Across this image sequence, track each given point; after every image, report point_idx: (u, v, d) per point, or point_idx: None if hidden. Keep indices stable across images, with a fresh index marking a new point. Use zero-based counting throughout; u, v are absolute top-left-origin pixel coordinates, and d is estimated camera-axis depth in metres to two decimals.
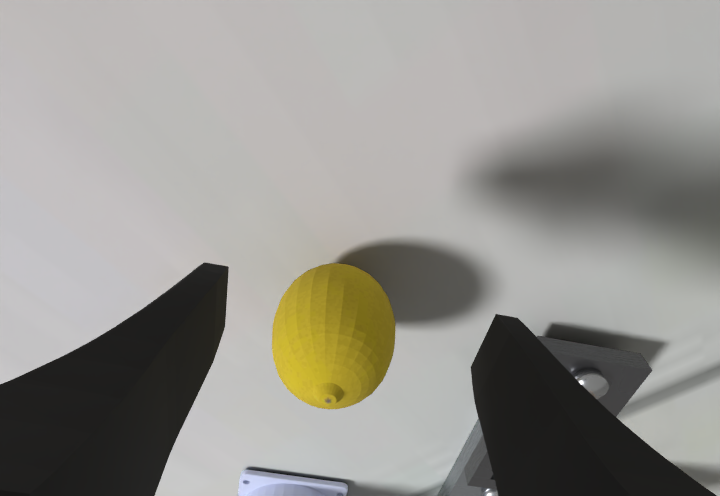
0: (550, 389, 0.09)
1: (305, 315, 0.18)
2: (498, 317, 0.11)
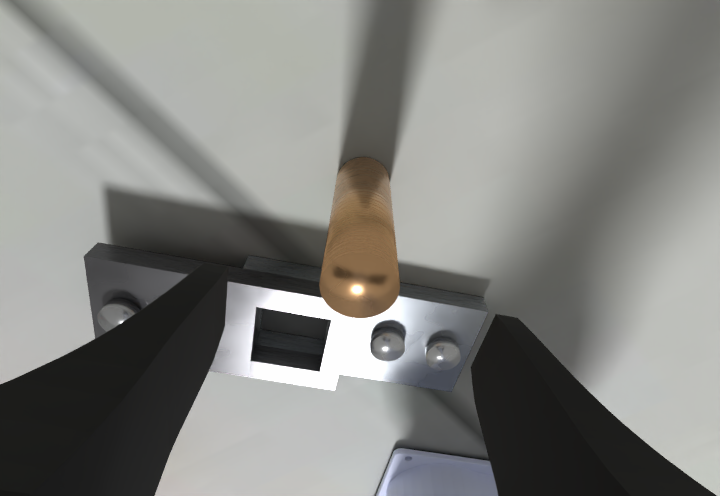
0: (550, 389, 0.09)
1: None
2: (498, 316, 0.11)
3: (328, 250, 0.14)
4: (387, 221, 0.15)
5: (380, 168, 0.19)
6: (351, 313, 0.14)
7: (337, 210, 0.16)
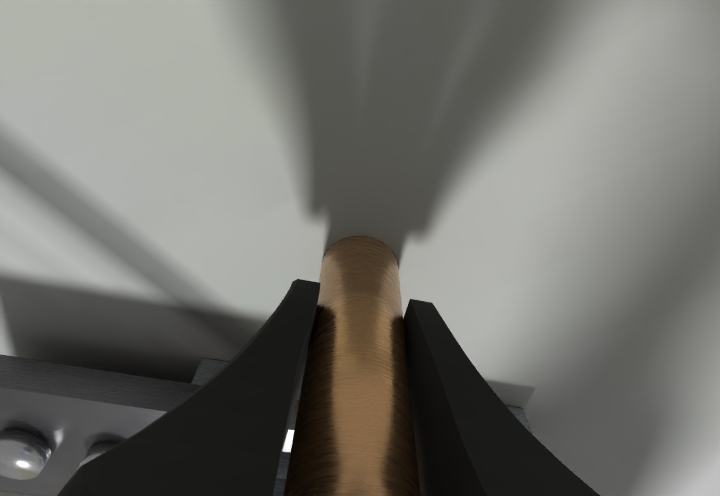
0: (438, 371, 0.09)
1: None
2: (411, 301, 0.11)
3: (294, 466, 0.08)
4: (399, 383, 0.09)
5: (385, 255, 0.13)
6: None
7: (316, 354, 0.10)
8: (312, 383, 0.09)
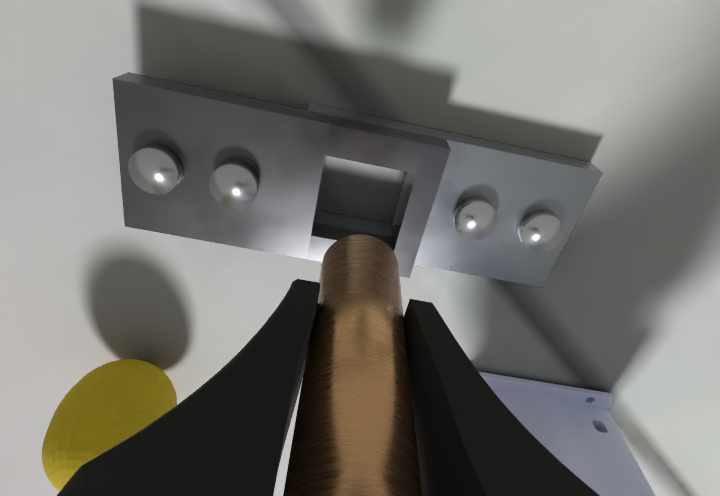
0: (438, 371, 0.09)
1: None
2: (411, 301, 0.11)
3: (296, 461, 0.08)
4: (400, 380, 0.09)
5: (386, 254, 0.13)
6: None
7: (318, 350, 0.10)
8: (313, 379, 0.09)
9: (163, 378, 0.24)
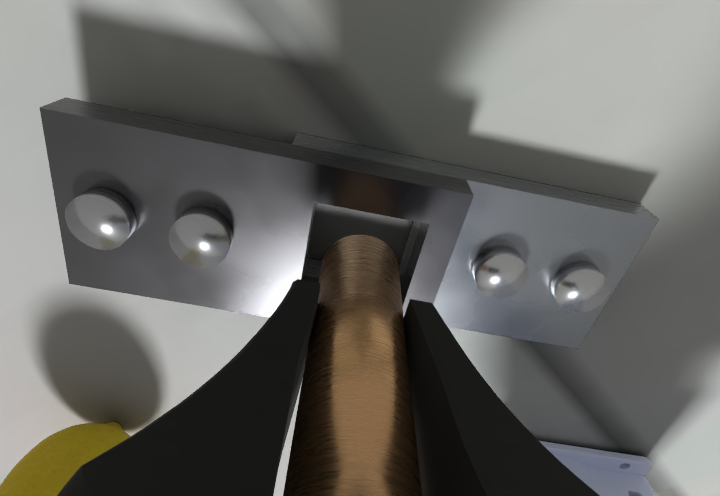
0: (438, 371, 0.09)
1: None
2: (411, 301, 0.11)
3: (296, 461, 0.07)
4: (400, 380, 0.09)
5: (386, 254, 0.13)
6: None
7: (317, 350, 0.10)
8: (313, 379, 0.09)
9: None
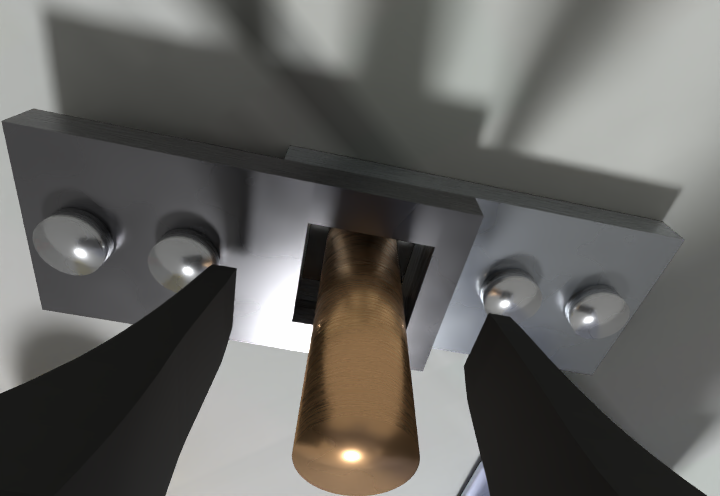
0: (540, 387, 0.09)
1: None
2: (491, 315, 0.11)
3: (308, 392, 0.09)
4: (398, 331, 0.10)
5: None
6: (341, 490, 0.09)
7: (325, 307, 0.11)
8: (322, 330, 0.10)
9: None
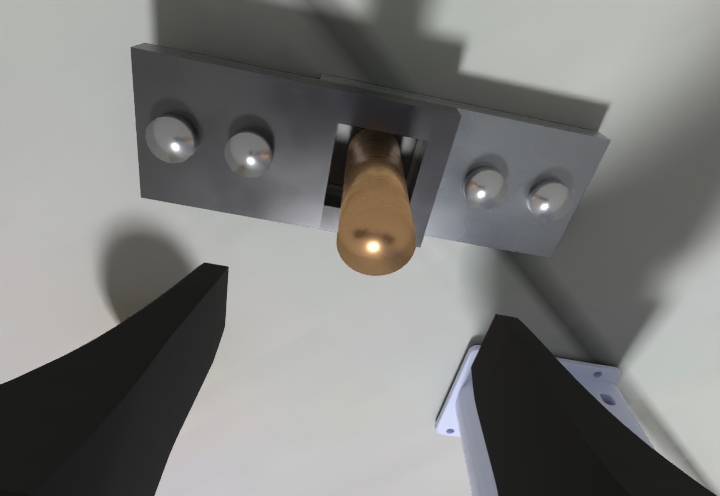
0: (550, 389, 0.09)
1: None
2: (498, 317, 0.11)
3: (345, 207, 0.14)
4: (401, 183, 0.15)
5: (391, 138, 0.19)
6: (366, 270, 0.14)
7: (351, 173, 0.16)
8: (350, 182, 0.15)
9: None
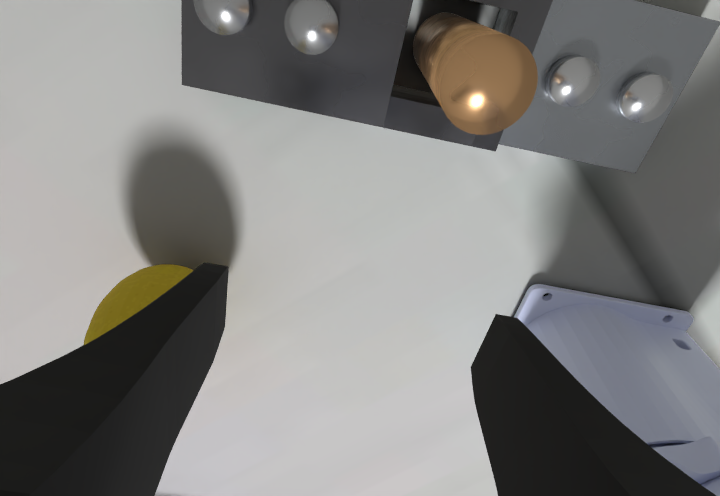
0: (550, 389, 0.09)
1: None
2: (499, 317, 0.11)
3: (446, 50, 0.11)
4: None
5: None
6: (471, 127, 0.12)
7: (439, 34, 0.13)
8: (442, 38, 0.13)
9: None
